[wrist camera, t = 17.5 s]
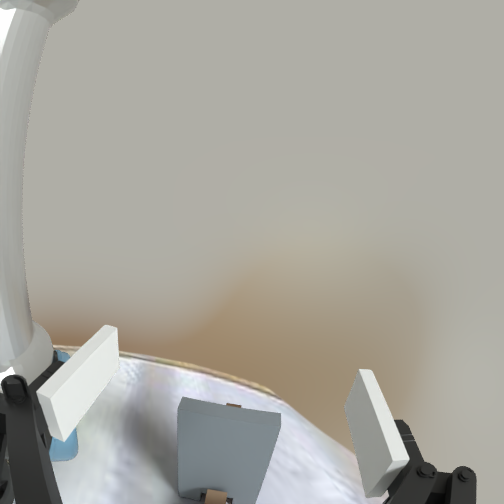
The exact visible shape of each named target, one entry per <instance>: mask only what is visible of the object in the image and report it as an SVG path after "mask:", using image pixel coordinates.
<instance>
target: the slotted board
mask: <svg viewBox="0 0 504 504" xmlns="http://www.w3.org/2000/svg"><path fill="white" fill-rule="evenodd" d="M226 405H227V406H233V407H239V408H241V405H235V404H229V403H227V404H226ZM226 498H227V492H221V491H216V490H210V489H208V490H207V494H206V499H205V503H204V504H226Z"/></svg>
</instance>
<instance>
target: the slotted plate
mask: <svg viewBox="0 0 504 504" xmlns="http://www.w3.org/2000/svg"><path fill="white" fill-rule="evenodd" d="M280 428H281V413H274V412H266V411H259V410H252V409H245V408H239V407H233V406H227V405H221V404H216V403H211V402H205V401H201V400H196V399H191V398H187V397H182V399H181V402H180V404H179V407H178V417H177V450H178V492H179V496H181V497H185V498H189V499H194V500H199V501H200V499H201V494H202V493H206V494H207V490H208V489H210V490H216V491H221V492H227V497H229V498H233V499H232V504H255V503H256V500H257V497H258V494H259V492H260V489H261V486H262V483H263V480H264V477H265V474H266V471H267V469H268V466H269V463H270V460H271V456H272V453H273V450H274V447H275V444H276V441H277V438H278V435H279V431H280Z"/></svg>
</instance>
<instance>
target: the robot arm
mask: <svg viewBox="0 0 504 504" xmlns="http://www.w3.org/2000/svg"><path fill="white" fill-rule="evenodd" d="M78 2H79V0H0V504H12V503H13V501H14V498H15V502H16V504H63V503H62V500H61V497H60V494H59V490H58V487H57V483H56V480H55V476H54V472H53V468H52V464H51V461H67V460H71V459H73V458H74V457H75V456H76V455H77V453H78V440H77V432H76V426H77V424H78V423H79V422H80V420H81V419H82V417H83V416H84V415H85V413H86V412H87V411H88V409H89V408H90V407H91V405H92V404H93V403H94V401H95V400H96V399H97V397H98V396H99V395H100V393H101V392H102V391H103V389H104V388H105V387H106V385H107V384H108V383H109V381H110V380H111V379H112V377H113V376H114V375H115V373H116V372H117V371H118V370H119V368H120V366H119V351H118V334H117V328H116V327H112V326H109V325H104V326H103V327H102V328H101V329H100V330H99V331H98V332H97V333H96V334H95V335H94V336H93V337H92V338H91V339H89V340H88V341H87V342H86V343H85V344H84V345H83V346H82V347H81V348H80V349H79V350H78V351H77V352H76V353H75V354H74V355H73V356H72V357H71V358H70V356H69V354H68V353H66V352H61V351H60V350H53V345H52V342H51V339H50V336H49V335H48V333H47V332H46V330H44V328H43V327H41V325H39V324H38V323H36V322H35V321H33V320H32V317H31V311H30V305H29V298H28V290H27V282H26V273H25V262H24V249H23V229H22V228H23V227H22V189H23V167H24V155H25V144H26V135H27V128H28V120H29V114H30V107H31V102H32V96H33V91H34V86H35V81H36V77H37V72H38V68H39V64H40V60H41V56H42V52H43V48H44V45H45V41H46V38H47V35H48V32H49V29H50V27H51V26H52V25H53V24H55V23H56V22H58V21H59V20H61V19H62V18H64V17H66V16H67V15H69V14H70V13H72V12H73V11H74V10H75V8H76V6H77V4H78ZM344 409H345V413H346V417H347V420H348V425H349V428H350V433H351V437H352V441H353V444H354V449H355V453H356V457H357V461H358V465H359V470H360V474H361V478H362V483H363V487H364V492H365V496H366V498H370V497H381V496H382V495H383V494H384V493H385V492H386V490H388V493H389V497H388V498H387V499H386V500H385V501H384V502H383V504H476V474H475V473H474V471H473V470H471V469H470V468H468V467H465V466H460V467H457V468H456V469H455V470H454V471H453V472H452V473H444V472H437V469H436V468H435V467H434V466H433V465H431V464H430V463H427V462H424V460H423V458H422V455H421V453H420V451H419V448H418V446H417V444H416V442H415V441H414V440H415V439H414V437H413V435H412V433H411V431H410V428H409V426H408V425H407V424H406V423H405V422H404V421H403V420H393V418H392V415H391V413H390V410H389V408H388V406H387V403H386V401H385V399H384V397H383V394H382V392H381V390H380V388H379V385H378V383H377V381H376V379H375V376H374V374H373V372H372V370H365V369H359V370H358V373H357V375H356V378H355V380H354V384H353V386H352V388H351V391H350V393H349V396H348V398H347V401H346V403H345V406H344ZM6 459H7V460H9V464H8V462H7V461H6ZM9 465H10V466H9Z"/></svg>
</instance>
